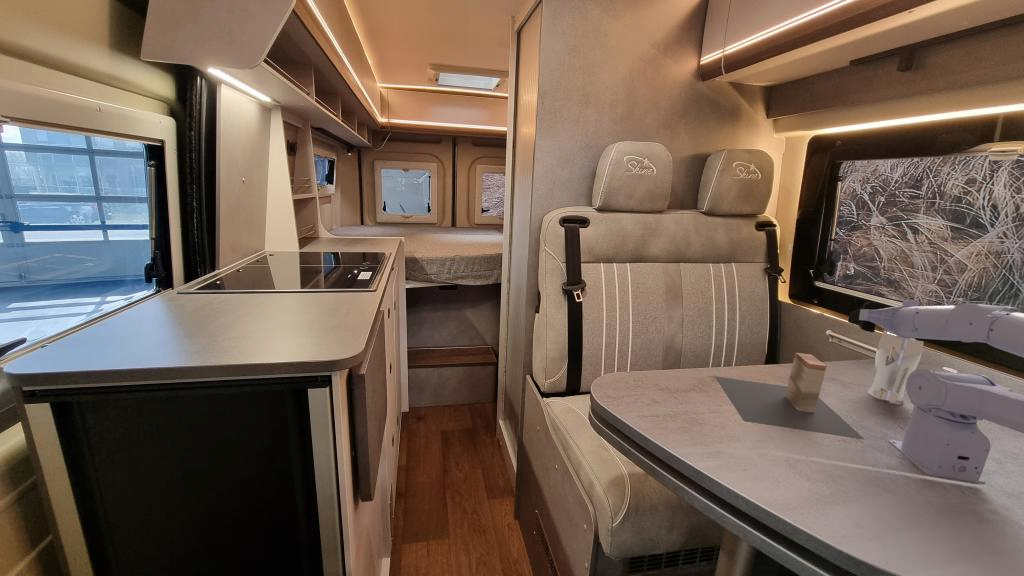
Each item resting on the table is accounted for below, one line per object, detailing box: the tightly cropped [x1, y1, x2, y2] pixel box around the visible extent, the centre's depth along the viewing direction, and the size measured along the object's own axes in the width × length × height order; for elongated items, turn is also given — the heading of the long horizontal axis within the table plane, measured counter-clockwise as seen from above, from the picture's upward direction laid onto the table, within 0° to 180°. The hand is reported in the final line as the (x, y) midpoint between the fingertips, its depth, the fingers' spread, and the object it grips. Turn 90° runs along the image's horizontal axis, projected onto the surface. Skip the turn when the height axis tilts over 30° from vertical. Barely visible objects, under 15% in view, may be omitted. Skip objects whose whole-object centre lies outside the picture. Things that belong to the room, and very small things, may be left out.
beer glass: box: [867, 329, 925, 406], centre depth 91 cm, size 7×7×15 cm
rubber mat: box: [715, 376, 865, 440], centre depth 86 cm, size 20×20×1 cm
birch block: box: [785, 352, 827, 413], centre depth 85 cm, size 6×3×10 cm, turn 169°
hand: (870, 321), depth 86 cm, fingers open, 7 cm apart
